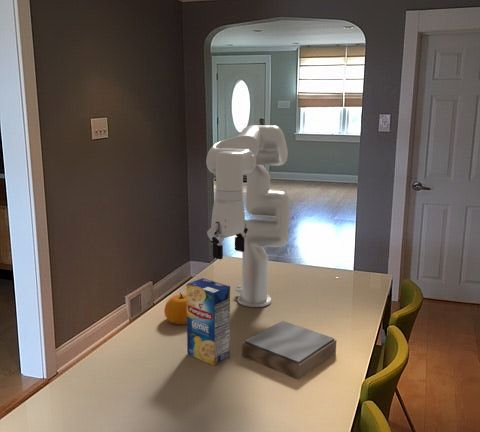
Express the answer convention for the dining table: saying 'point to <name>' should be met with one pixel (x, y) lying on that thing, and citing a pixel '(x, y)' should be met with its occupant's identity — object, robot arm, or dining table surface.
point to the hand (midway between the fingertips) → (228, 254)
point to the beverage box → (208, 320)
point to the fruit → (177, 309)
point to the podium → (289, 349)
